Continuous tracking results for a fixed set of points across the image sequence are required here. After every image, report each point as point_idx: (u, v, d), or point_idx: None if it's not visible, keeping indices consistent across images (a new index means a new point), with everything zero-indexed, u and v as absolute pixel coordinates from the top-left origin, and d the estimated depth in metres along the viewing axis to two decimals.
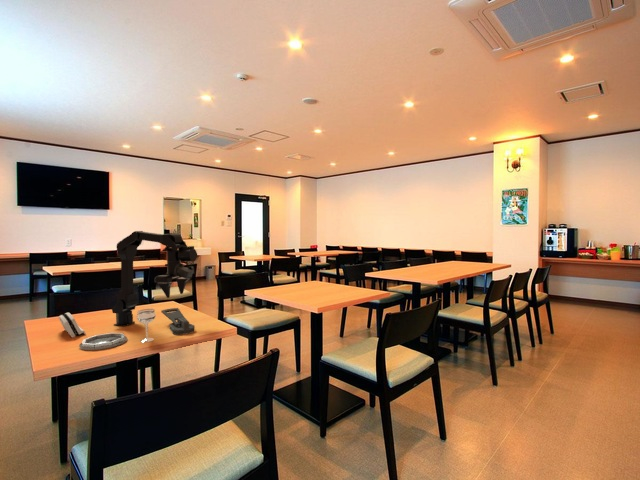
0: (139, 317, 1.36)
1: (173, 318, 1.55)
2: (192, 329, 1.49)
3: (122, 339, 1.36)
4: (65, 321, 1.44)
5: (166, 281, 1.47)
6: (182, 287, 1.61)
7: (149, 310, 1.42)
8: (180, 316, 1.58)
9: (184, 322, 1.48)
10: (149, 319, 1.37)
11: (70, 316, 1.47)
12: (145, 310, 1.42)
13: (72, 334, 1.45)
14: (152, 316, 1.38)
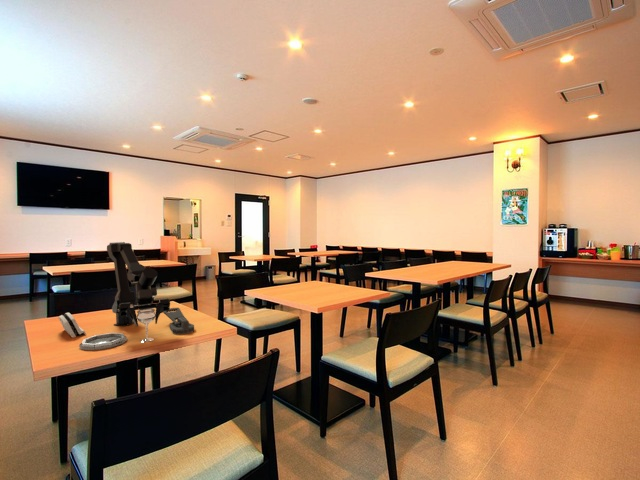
0: (139, 317, 1.36)
1: (173, 318, 1.56)
2: (191, 329, 1.50)
3: (122, 339, 1.36)
4: (65, 321, 1.44)
5: (120, 307, 1.36)
6: (155, 316, 1.41)
7: (149, 310, 1.42)
8: (180, 316, 1.59)
9: (184, 322, 1.48)
10: (149, 319, 1.37)
11: (70, 316, 1.47)
12: (145, 310, 1.42)
13: (72, 334, 1.45)
14: (152, 316, 1.38)
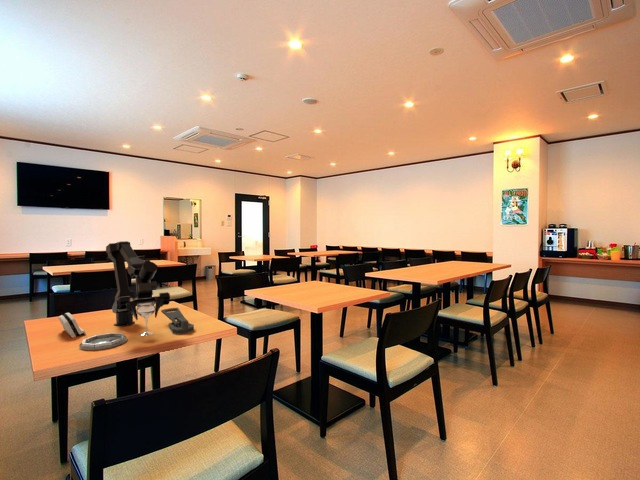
0: (139, 311, 1.36)
1: (173, 318, 1.56)
2: (191, 328, 1.50)
3: (122, 339, 1.36)
4: (65, 321, 1.44)
5: (120, 300, 1.36)
6: (155, 309, 1.41)
7: (149, 304, 1.42)
8: (180, 316, 1.59)
9: (183, 321, 1.48)
10: (149, 313, 1.37)
11: (70, 316, 1.47)
12: (145, 304, 1.42)
13: (72, 334, 1.45)
14: (152, 310, 1.38)
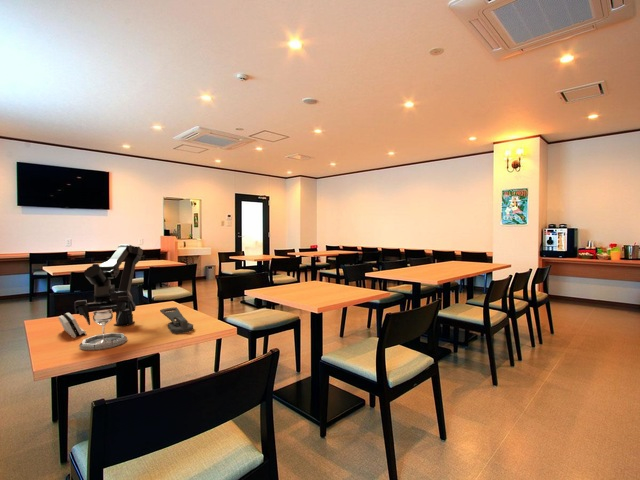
0: (95, 318, 1.33)
1: (172, 317, 1.56)
2: (191, 328, 1.51)
3: (122, 339, 1.36)
4: (66, 321, 1.44)
5: (75, 304, 1.33)
6: (116, 313, 1.38)
7: (107, 311, 1.39)
8: (179, 315, 1.59)
9: (183, 321, 1.49)
10: (105, 320, 1.34)
11: (71, 316, 1.47)
12: (102, 311, 1.38)
13: (73, 334, 1.44)
14: (108, 317, 1.35)
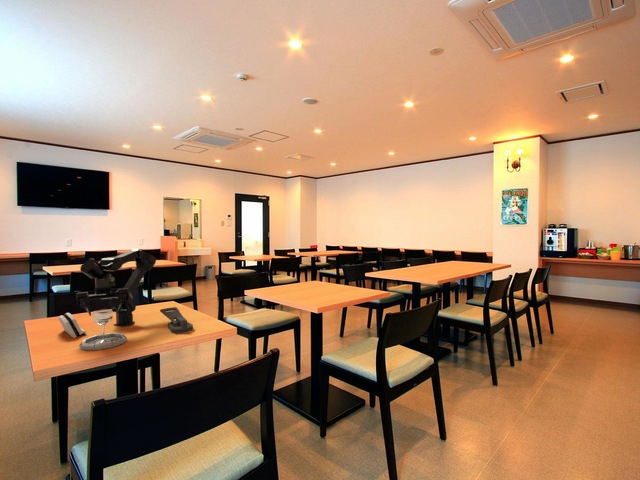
0: (95, 318, 1.33)
1: (172, 317, 1.57)
2: (190, 328, 1.51)
3: (122, 339, 1.36)
4: (66, 321, 1.44)
5: (77, 296, 1.39)
6: (116, 305, 1.44)
7: (107, 311, 1.39)
8: (178, 315, 1.60)
9: (182, 321, 1.49)
10: (105, 320, 1.34)
11: (71, 316, 1.47)
12: (102, 311, 1.38)
13: (73, 334, 1.44)
14: (108, 317, 1.35)
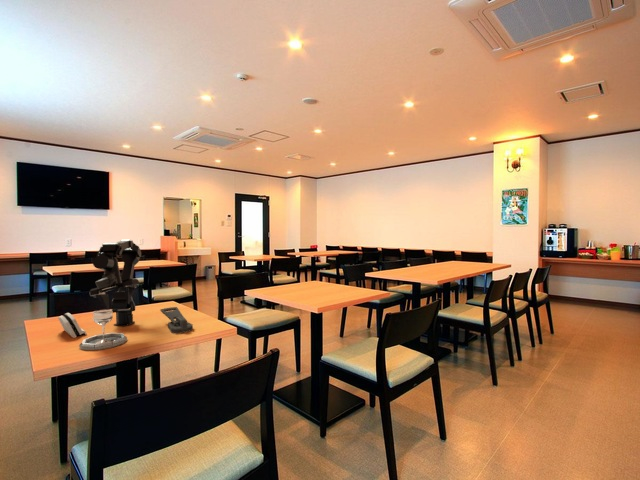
0: (95, 318, 1.33)
1: (172, 317, 1.57)
2: (190, 328, 1.51)
3: (122, 339, 1.36)
4: (66, 321, 1.44)
5: (90, 294, 1.45)
6: None
7: (107, 311, 1.39)
8: (179, 315, 1.60)
9: (182, 321, 1.50)
10: (105, 320, 1.34)
11: (71, 316, 1.47)
12: (102, 311, 1.38)
13: (73, 334, 1.44)
14: (108, 317, 1.35)
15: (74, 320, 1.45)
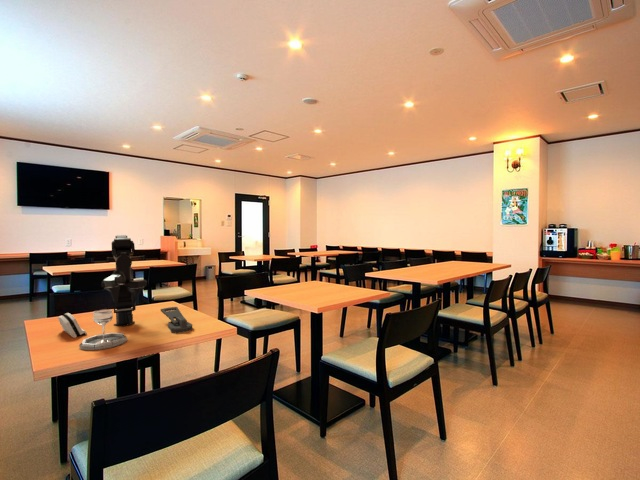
0: (95, 318, 1.33)
1: (171, 317, 1.58)
2: (190, 327, 1.52)
3: (122, 339, 1.36)
4: (66, 321, 1.44)
5: (101, 285, 1.48)
6: None
7: (107, 311, 1.39)
8: (178, 315, 1.60)
9: (182, 320, 1.50)
10: (105, 320, 1.34)
11: (71, 316, 1.47)
12: (102, 311, 1.38)
13: (73, 334, 1.44)
14: (109, 317, 1.35)
15: (74, 320, 1.45)
